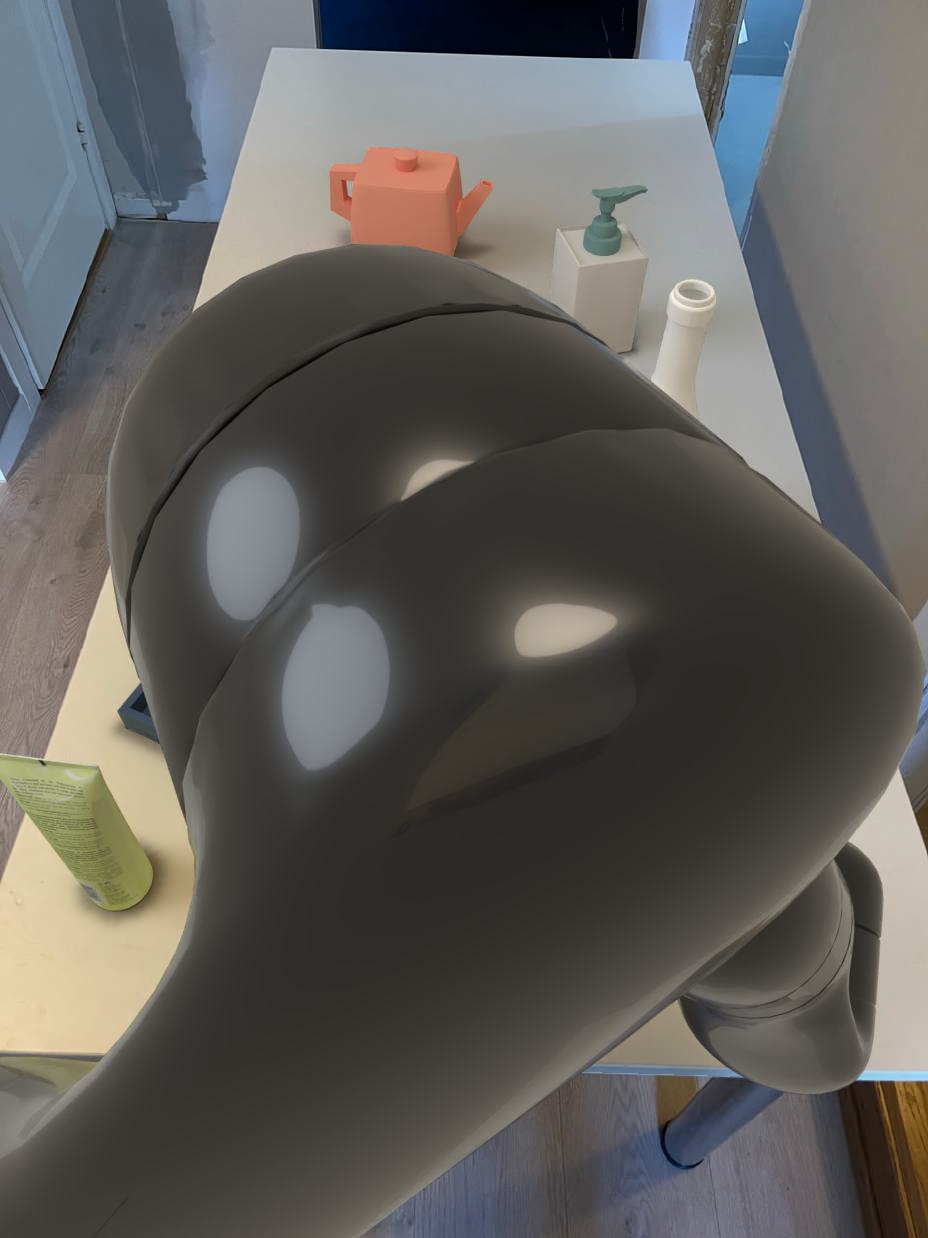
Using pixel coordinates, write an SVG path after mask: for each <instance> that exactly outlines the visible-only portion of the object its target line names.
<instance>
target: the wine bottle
mask: <svg viewBox="0 0 928 1238" xmlns="http://www.w3.org/2000/svg"><path fill="white" fill-rule="evenodd" d="M717 302H718V301H717V296H716V290H715V288H714V287H713V286H712V285H711V284H710V283H708V282H706V281H703V280H700V279H692V278H691V279H684V280H681V281H679V282H677V283H676V284H675V285H674V288H673V289H672V290H671V291H670V293H669V297H668V301H667V306H666V315H667V320H666V323H665V327H664V331H663V336H662V340H661V344H660V349H659V353H658V357H657V361H656V365H655V369H654V371H653V373H652V375H651V377H650V380H651V381H652V382H653V383H654V384H655V385H657V386H658V387H659V388H660V389H661V390H663V391H664V392H665V393H666V394H667V395H669V396H670V397H671V398H672V399H673V400H675V401H676V402H677V403H678V404H679V405H681V406H682V407H683V408H684V409H685V410H687V411H688V412H689V413H690V414H691V415H693V416H694V417H695V418H696V419H697V420H699V421H700V418H699V409H698V401H697V393H696V378H697V372H698V368H699V363H700V359H701V355H702V351H703V347H704V343H705V342H704V341H705V337H706V333H707V329H708V324H710V322H711V321H712V320H713V318H714V313H715V311H716V306H717Z"/></svg>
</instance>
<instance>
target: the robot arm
mask: <svg viewBox="0 0 928 1238" xmlns="http://www.w3.org/2000/svg"><path fill="white" fill-rule="evenodd" d="M549 300H550V299H547V298H546V297H544V296H542V295H540V294H538V293H537V292H535V291H532V290H530V289H529V288H527V287H525V286H522V285H521V284H519V283H517V282H514V281H512V280H511V279H509V278H506V277H505V276H503V275H501V274H499V273H496V272H495V271H493V270H490V269H488V268H487V267H485V266H482V265H480V264H478V263H477V262H474V261H471V260H468V259H464V258H460V257H456V256H449V255H445V254H441V253H438V252H434V251H430V250H426V249H422V248H418V247H414V246H408V245H375V244H352V243H350V244H345V245H341V246H336V247H331V248H325V249H320V250H315V251H310V252H304V253H299V254H294V255H292V256H290V257H287V258H285V259H282V260H280V261H277V262H275V263H273V264H269V265H268V266H266V267H263V268H261V269H258V270H256V271H253V272H251V273H249V274H246V275H244V276H242V277H240V278H239V279H238V280H236V281H235V282H233V283H232V284H230V285H229V286H227V287H226V288H224V289H223V290H222V291H220V292H218V293H217V294H215V295H214V296H212V298H210V299H208V300H207V301H206V302H205V303H203V304H202V305H200V306H199V307H197V308H196V309H195V310H193V311H192V312H191V313H190V314H188V316H186V317H185V318H184V319H183V320H182V322H181V323H179V324H178V325H177V327H175V328H174V330H172V332H171V333H170V335H168V337H167V338H166V339H165V340H164V341H163V343H162V344H161V345H160V346H159V347H158V349H157V350H156V351H155V352H154V354H153V355H152V357H151V358H150V360H149V362H148V364H147V366H146V367H145V369H144V371H143V372H142V373H141V375H140V377H139V379H138V381H137V383H136V384H135V386H134V388H133V389H132V391H131V392H130V394H129V396H128V398H127V399H126V401H125V403H124V405H123V409H122V411H121V415H120V418H119V421H118V425H117V427H116V430H115V434H114V437H113V441H112V443H111V446H110V449H109V454H108V466H107V477H106V489H105V502H104V513H103V515H104V527H105V538H106V545H107V551H108V552H107V553H108V558H109V565H110V571H111V579H112V585H113V591H114V598H115V603H116V609H117V610H116V611H117V614H118V617H119V621H120V625H121V628H122V632H123V636H124V640H125V643H126V646H127V650H128V653H129V656H130V658H131V660H132V663H133V666H134V669H135V672H136V675H137V678H138V680H139V681H140V683H141V685H142V688H143V691H144V694H145V697H146V700H147V703H148V707H149V710H150V713H151V716H152V719H153V722H154V726H155V729H156V732H157V735H158V738H159V741H160V743H159V744H160V748H161V751H162V753H163V758H164V760H165V763H166V766H167V769H168V772H169V773H168V774H169V775H170V780H171V782H172V785H173V788H174V791H175V795H176V798H177V801H178V805H179V807H180V810H181V813H182V817H183V819H184V822H185V825H186V830H187V837H188V838H187V839H188V844H189V846H190V849H191V852H192V854H193V886H192V893H191V899H190V904H189V908H188V912H187V916H186V920H185V924H184V928H183V931H182V934H181V936H180V938H179V941H178V944H177V946H176V949H175V952H174V954H173V956H172V957H171V959H170V961H169V963H168V965H167V967H166V968H165V970H164V972H163V973H162V976H161V978H160V979H159V981H158V983H157V985H156V987H155V989H154V990H153V992H152V993H151V995H150V996H149V997H148V999H147V1000H146V1002H145V1003H144V1004H143V1006H142V1007H141V1009H140V1010H139V1011H138V1013H137V1014H136V1016H135V1017H134V1019H132V1021H131V1023H130V1025H128V1027H127V1029H126V1030H125V1031H124V1032H123V1034H122V1035H121V1036H120V1037H119V1038H118V1039H117V1040H116V1042H115V1043H113V1045H112V1046H111V1047H109V1049H108V1051H107V1052H106V1053H105V1054H104V1055H103V1057H102V1058H100V1060H99V1061H98V1062H95V1061H86V1060H77V1059H67V1058H57V1057H45V1056H0V1238H360V1237H362V1236H363V1235H364V1234H365V1233H367V1232H368V1231H370V1230H371V1229H372V1228H374V1227H375V1226H377V1225H378V1224H379V1223H380V1222H382V1221H383V1220H384V1219H386V1218H387V1217H388V1216H390V1215H391V1214H393V1213H394V1212H396V1211H397V1210H398V1209H399V1208H401V1207H402V1206H403V1205H405V1204H406V1203H408V1202H409V1201H410V1200H411V1199H413V1198H414V1197H416V1196H417V1195H418V1194H420V1193H421V1192H422V1191H424V1190H425V1189H426V1188H428V1187H429V1186H431V1185H432V1184H434V1183H435V1182H436V1181H437V1180H439V1179H440V1178H442V1177H443V1176H444V1175H445V1174H447V1173H448V1172H449V1171H451V1170H452V1169H453V1168H455V1167H456V1166H458V1165H459V1164H461V1163H462V1162H463V1161H465V1160H466V1159H467V1158H469V1157H470V1156H472V1154H474V1153H475V1152H477V1151H478V1150H479V1149H480V1148H482V1147H483V1146H485V1145H487V1144H488V1143H489V1142H490V1141H492V1140H493V1139H494V1138H496V1137H497V1136H499V1135H500V1134H501V1133H502V1132H504V1131H506V1130H507V1129H508V1128H509V1127H510V1126H511V1125H514V1123H516V1122H517V1121H519V1120H520V1119H521V1118H523V1117H524V1116H525V1115H527V1114H528V1113H530V1112H531V1111H532V1110H533V1109H535V1108H537V1106H539V1105H540V1104H542V1103H544V1101H546V1100H547V1099H549V1098H550V1097H552V1096H553V1095H554V1094H555V1093H557V1092H558V1091H560V1090H561V1089H562V1088H564V1087H565V1086H566V1085H568V1084H569V1083H570V1082H572V1081H573V1080H574V1079H576V1078H577V1077H578V1076H580V1075H581V1074H582V1073H584V1072H585V1071H587V1070H588V1069H589V1068H591V1067H592V1066H593V1065H595V1064H596V1063H597V1062H598V1061H600V1060H601V1059H603V1058H604V1057H606V1056H607V1055H608V1054H610V1053H611V1052H612V1051H614V1049H616V1048H617V1047H619V1046H620V1045H621V1044H622V1043H624V1042H625V1041H626V1040H628V1039H629V1038H631V1036H633V1035H634V1034H636V1032H638V1031H639V1030H641V1028H643V1027H644V1026H646V1025H647V1024H648V1023H649V1022H651V1021H652V1020H653V1019H655V1017H658V1015H660V1014H661V1013H662V1012H664V1011H665V1010H666V1009H667V1008H668V1007H670V1006H672V1005H673V1004H674V1003H675V1002H677V1004H678V1007H679V1009H680V1012H681V1014H682V1018H683V1019H684V1021H685V1023H686V1025H687V1027H688V1029H689V1031H690V1032H691V1034H692V1035H693V1036H694V1038H695V1039H696V1040H697V1041H698V1043H699V1044H700V1045H701V1046H702V1047H703V1049H705V1050H706V1051H707V1052H708V1053H709V1054H710V1055H711V1056H712V1057H713V1058H714V1059H716V1060H717V1061H718V1062H719V1063H720V1064H722V1065H723V1066H725V1067H726V1068H727V1069H729V1070H730V1071H732V1072H733V1073H735V1074H737V1075H738V1076H740V1077H742V1078H744V1079H745V1080H748V1081H750V1082H752V1083H754V1084H756V1085H759V1086H762V1087H764V1088H767V1089H770V1090H775V1091H778V1092H782V1093H785V1094H791V1095H799V1096H818V1095H827V1094H829V1093H833V1092H838V1091H841V1090H842V1089H844V1088H847V1087H849V1086H850V1085H853V1083H855V1082H856V1081H857V1080H858V1079H859V1078H860V1077H861V1076H862V1074H863V1073H864V1072H865V1070H866V1068H867V1066H868V1064H869V1061H870V1058H871V1056H872V1055H871V1054H872V1052H873V1051H872V1050H873V1046H874V1039H875V1029H876V1017H877V1015H876V1014H877V1008H876V1006H877V1001H878V987H879V974H880V973H879V972H880V958H881V957H880V956H881V944H882V943H881V938H882V933H883V921H884V919H883V918H884V900H885V899H884V889H883V882H882V879H881V875H880V874H879V873H880V872H879V871H878V869H877V867H876V866H875V864H874V863H873V861H872V860H871V859H870V858H869V857H868V855H866V854H865V853H864V852H863V851H862V850H861V849H860V848H859V847H858V846H856V845H855V844H854V843H852V842H850V840H851V838H852V837H853V836H854V834H855V833H856V832H857V831H858V830H859V828H860V827H861V826H862V824H863V823H864V822H865V821H866V820H867V818H868V817H869V816H870V814H871V813H872V812H873V811H874V809H875V808H876V806H877V805H878V803H879V802H880V800H881V799H882V797H883V796H884V795H885V793H886V792H887V790H888V788H889V786H890V784H891V782H892V780H893V779H894V777H895V775H896V773H897V771H898V769H899V768H900V766H901V764H902V762H903V759H904V758H905V756H906V754H907V753H908V751H909V748H910V747H911V744H912V743H913V741H914V738H915V735H916V732H917V728H918V725H919V722H920V721H919V720H920V717H921V712H922V705H923V699H924V698H923V697H924V689H925V672H926V663H925V662H926V661H925V657H924V652H923V648H922V643H921V640H920V637H919V635H918V632H917V630H916V627H915V625H914V623H913V622H912V620H911V618H910V616H909V614H908V613H907V610H906V609H905V607H904V606H903V605H902V603H901V602H900V601H899V600H898V599H897V598H896V597H895V595H894V594H892V593H893V592H891V591H890V590H889V589H888V588H887V587H886V586H885V585H884V583H883V582H882V581H881V580H880V579H879V578H878V577H877V575H875V573H874V572H873V571H872V570H871V568H869V567H868V565H867V564H866V563H865V561H863V560H862V559H861V558H860V557H859V556H857V555H856V553H854V552H853V551H852V550H851V549H850V548H849V547H848V546H847V545H846V544H845V543H843V542H842V541H841V539H839V538H838V537H837V536H836V535H835V534H834V533H833V532H831V531H830V530H829V529H828V528H827V527H826V526H824V525H823V524H822V523H821V522H820V521H819V520H817V518H815V517H814V516H813V515H812V514H810V513H809V512H808V511H807V510H806V509H805V508H803V507H802V506H801V505H800V504H799V503H797V502H796V501H795V500H794V499H793V498H792V497H790V495H788V494H787V493H786V492H785V491H783V490H782V489H781V488H780V487H779V486H778V485H776V484H775V482H773V481H772V480H771V479H770V478H769V477H768V476H766V475H764V474H762V473H761V472H759V471H757V470H755V469H754V468H752V467H750V465H749V464H748V462H747V461H746V459H745V458H744V457H743V456H742V455H741V454H740V453H739V452H737V451H736V450H735V449H733V448H732V447H731V446H730V445H729V444H728V443H726V441H724V440H723V439H722V438H720V437H719V436H718V435H717V434H715V433H714V432H713V431H712V430H711V429H710V428H708V427H707V426H706V425H705V424H703V422H701V421H700V419H699V420H697V419H696V418H695V417H694V416H693V415H691V414H690V413H689V412H688V411H687V410H685V409H684V408H683V407H682V406H681V405H679V404H678V403H677V402H676V401H675V400H673V399H672V398H671V397H670V396H669V395H667V394H666V393H665V392H664V391H663V390H661V389H660V388H659V387H658V386H657V385H655V384H654V383H653V382H652V381H651V379H649V378H648V377H647V376H646V374H643V373H642V372H641V371H640V370H638V369H637V368H636V367H635V366H634V365H633V364H632V363H630V362H629V361H628V360H627V359H625V357H623V356H622V355H620V354H619V353H617V352H615V351H613V350H612V349H611V348H610V347H609V346H608V345H607V344H606V343H604V342H603V341H602V340H601V339H599V338H597V337H596V336H594V335H593V334H592V333H591V332H590V331H588V330H587V329H586V328H585V327H584V326H583V325H582V324H580V323H579V322H578V321H577V320H575V319H574V318H573V317H571V316H570V315H569V314H567V313H566V312H565V311H563V310H562V309H561V308H560V307H558V306H557V305H555V304H554V303H552V302H550V301H549Z"/></svg>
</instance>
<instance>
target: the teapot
mask: <svg viewBox="0 0 928 1238" xmlns="http://www.w3.org/2000/svg"><path fill="white" fill-rule="evenodd" d="M328 173H329V195H330V196H329V197H330V211H331V212H333V213H335V214H336V215H338V216H340V217H342V218H343V219H345V220H347V221H348V222H350V237H351V244H375V245H408V246H414V247H418V248H422V249H426V250H430V251H434V252H438V253H441V254H445V255H449V256H453V257H455V253H456V250H457V246H458V242H459V239H460V237H461V236H462V234H463V233H464V231H465V230H466V229H467V228H468V226H469V224H470V223H471V222H472V220H473V219H474V217H475V216H476V215H477V213H478V211H479V210H480V209H481V207H482V206H483V205H484V203H485V201H486V200H487V199H488V198H489V196H490V194H491V193H492V192H493V190H494V186H495V182H493V181H490V180H487V179H483V178H481V179H480V181H479V182H478V183H477V184H476V185H475V186H474V187H473V188H472V189H471V190H470V191H469V192H468V193H467V194H466V195H465V196H464V194H463V182H462V175H461V168H460V162H459V157H458V156H457V155H456V154H454V153H450V152H443V151H434V150H433V151H432V150H425V149H416V148H411V147H410V148H409V147H402V148H401V147H400V148H399V147H387V146H386V147H385V146H382V147H380V146H379V147H378V146H375V147H374V146H373V147H370V148H369V149H368V150H367V151H366V153H365V155H364V157H363V159H362V161H361V163H333V164H332V166H331V168H330V170H329V172H328ZM347 181H348V182H352V191H351V192H352V193H351V196H350V195H349V193H348V185H347Z"/></svg>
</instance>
